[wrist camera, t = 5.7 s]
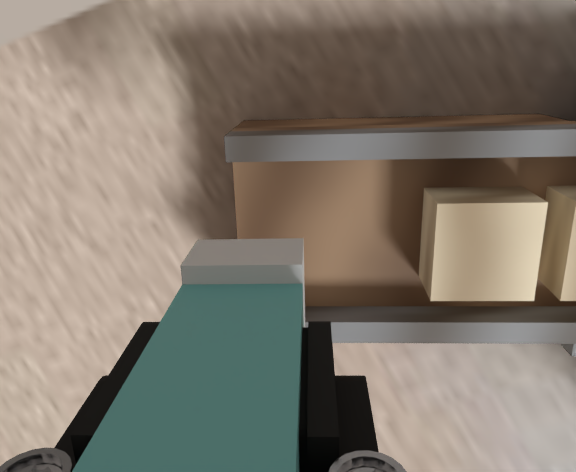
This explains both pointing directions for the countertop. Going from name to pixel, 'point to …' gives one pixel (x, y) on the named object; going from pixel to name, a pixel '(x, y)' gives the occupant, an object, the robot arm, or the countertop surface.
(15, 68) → the countertop surface
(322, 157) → the channel board
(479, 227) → the cream flat square block
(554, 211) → the beige block
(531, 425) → the countertop surface
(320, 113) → the countertop surface
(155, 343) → the teal block
